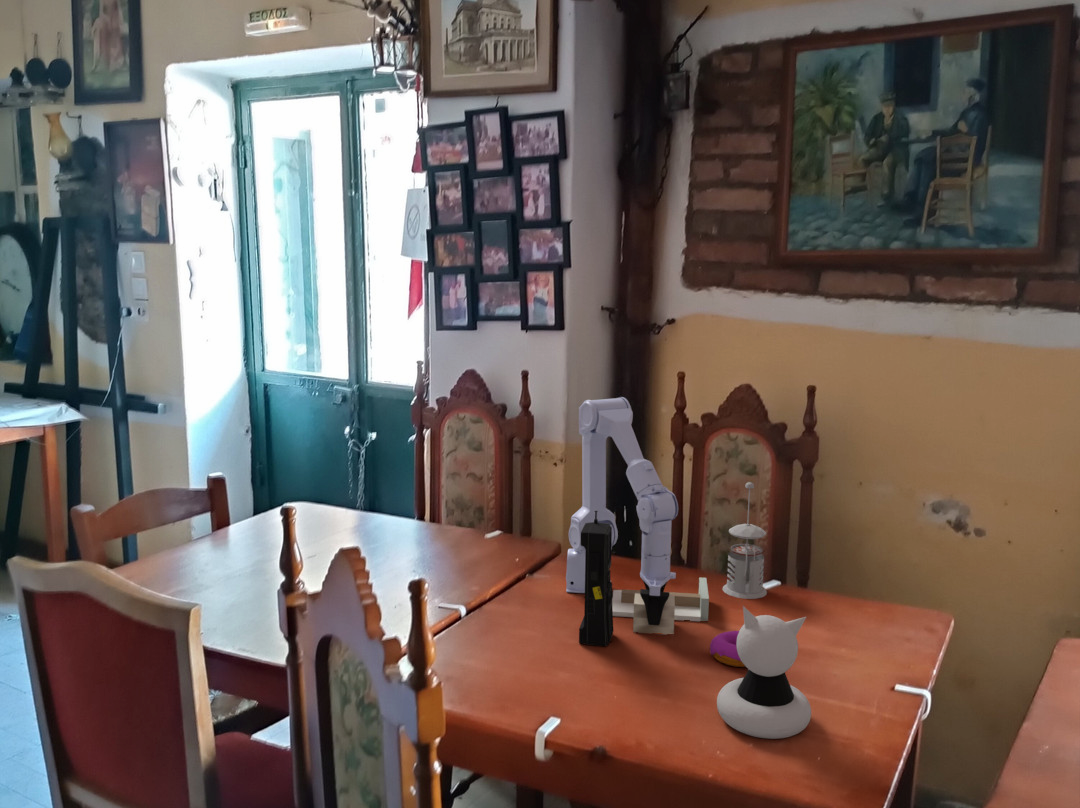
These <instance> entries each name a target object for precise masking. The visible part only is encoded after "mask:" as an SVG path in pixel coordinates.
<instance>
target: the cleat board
mask: <svg viewBox="0 0 1080 808" xmlns="http://www.w3.org/2000/svg"><path fill="white" fill-rule="evenodd" d="M707 582H708V581H707V577H699V578H698V593H693V592H692V593H690V592H674V591H668V592H669V595H672V596H675V614H674V621H684V620H690V621H689V622H700V621H708V622H709V609H710V608H709V607H710V606H709V605H710V596H709V588H708V583H707ZM612 591H613V598H612V610H613V617H621V618H622V617H624V618H625V617H626V618H634V598H635V593H638V594H640V590H638V589H624V588H623V589H613V590H612Z"/></svg>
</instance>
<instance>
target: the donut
mask: <svg viewBox="0 0 1080 808" xmlns="http://www.w3.org/2000/svg"><path fill="white" fill-rule="evenodd" d="M739 631H740V630H730V631H724V632H721V633H719V634H717V635H715V636H714V637H713V638H712V639H711V641H710V644H709V650H710V652H709V653H710V655H711V656H713V657H714V659H715V660H717V661H718V662H720V663H722V664H724V665H727V666H731V667H735V668H736V667H737V668H747V667H746V666H745V665H744V664H743V662H742V661H741V659H740V657H739V655H738V652H737V645H736V643H737V636H738V633H739Z"/></svg>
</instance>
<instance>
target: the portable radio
mask: <svg viewBox="0 0 1080 808" xmlns="http://www.w3.org/2000/svg"><path fill="white" fill-rule="evenodd" d="M594 512H595V519H594V522H590V523H585V525H584V527H583V529H582V531H581V546H583V547H584V548H585V549H586V552H585V593H584V613H583V614H584V615H583V618H582V621H581V623H580V626H579V630H578V643H579V644H582V645H588V646H597V647H608V645H609V644H610V643H611V641H612V639H613V635H614V630H615V629H614V619H613V618H614V616H613V610H612V598H613V591H614V590H613V583H612V581H611V582H610V580H611V570H610V569H611V566H612V550H611V547H612V548H613V546H612V527H611V526H610V524H609V523H598V519H597V512H598V511H594Z"/></svg>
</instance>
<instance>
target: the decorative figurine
mask: <svg viewBox="0 0 1080 808" xmlns="http://www.w3.org/2000/svg"><path fill="white" fill-rule="evenodd" d="M742 611H743V621H744V622H743V625H742V626H741V627H740V629H739V630H738V631H739V633H738V636H737V643H736V645H737V652H738V655H739V657H740V659H741V661H742V662H743V664H744V665H745V666H746V667H745V668H747V671H746V673H745V675H744V677H740V678H736V679H734V680H732V681H729V682H727V683H726V684H725V685H724V686H723V687H722V688H721V689H720V691H719V692H718V694H717V697H716V708H717V711H718V713H719V715H720V717H721V718H722V720H723V721H724V722H725V723H726V724H727V725H729V727H731V728H733V729H734V730H736V731H738V732H740V733H741V734H744V735H748V736H751V737H755V738H760V739H769V740H770V739H772V740H773V739H775V740H777V739H785V738H790V737H792V736H795V735H797V734H799V733H801V732H802V731H804V730H805V729H806V728H807V726H808V725H809V723H810V722H811V717H812V708H811V704H810V702H809V700H808V698H807V697H806V696H805V694H804V693H803V692H801V690H799V689H798V688H797V687H795V686H793V685H791V684H790V682H789V679H788V677H787V675H786V672H787V671H788V670H789V669H790V668H791V667H792V666H793V664H794V663H795V662H796V660H797V656H798V652H799V644H798V638H797V635H798V633H799V631H800V630H801V628H802V626H803V624H804V622H805V621H806V619H807V616H803V617H801V618H800V617H799V618H797V619H792V620H789V621H785V620H782V618H779V617H777V616H773V615H768V614H764V615H762V614H761V615H758V616H757V615H756V616H755V615H754V614H752V613H751V612H750V611H749V610H748V609H747V608H746V607H745V605H742Z"/></svg>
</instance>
